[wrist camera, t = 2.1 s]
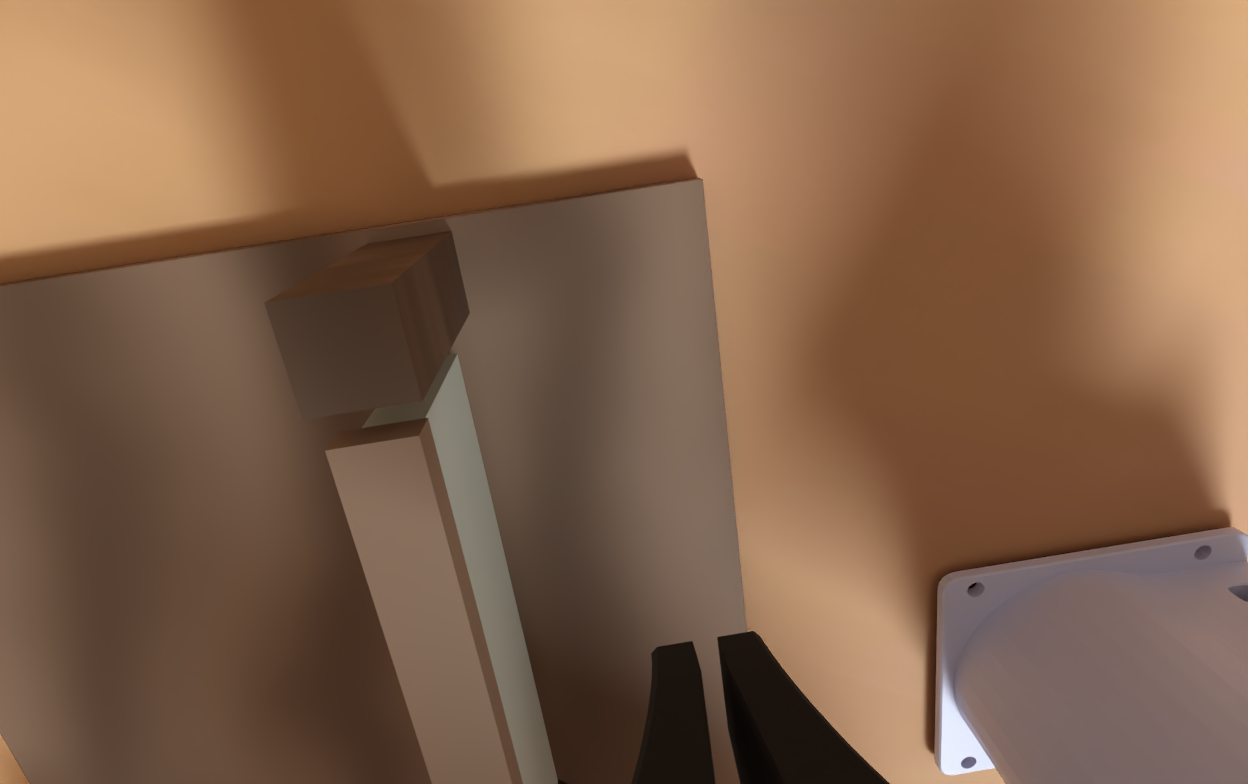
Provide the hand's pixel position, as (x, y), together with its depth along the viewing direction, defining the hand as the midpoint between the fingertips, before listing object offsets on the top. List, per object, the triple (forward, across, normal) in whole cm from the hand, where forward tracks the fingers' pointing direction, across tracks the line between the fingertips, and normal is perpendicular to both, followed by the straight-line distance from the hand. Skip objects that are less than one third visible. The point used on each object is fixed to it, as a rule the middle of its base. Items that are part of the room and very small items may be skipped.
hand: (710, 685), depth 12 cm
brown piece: (+8, +9, +4) cm, 13 cm away
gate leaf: (+7, +5, +3) cm, 9 cm away
